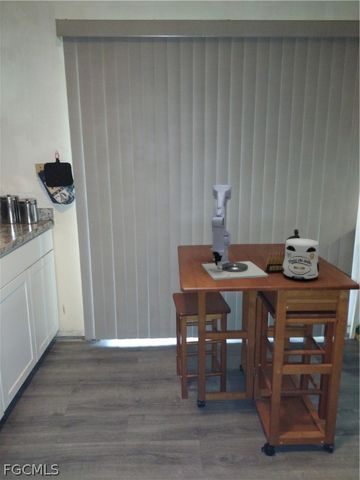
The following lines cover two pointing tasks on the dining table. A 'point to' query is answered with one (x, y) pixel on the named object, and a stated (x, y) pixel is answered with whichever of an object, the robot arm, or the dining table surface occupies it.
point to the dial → (232, 266)
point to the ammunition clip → (275, 262)
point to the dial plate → (222, 275)
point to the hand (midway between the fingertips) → (217, 265)
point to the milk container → (301, 259)
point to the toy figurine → (294, 235)
